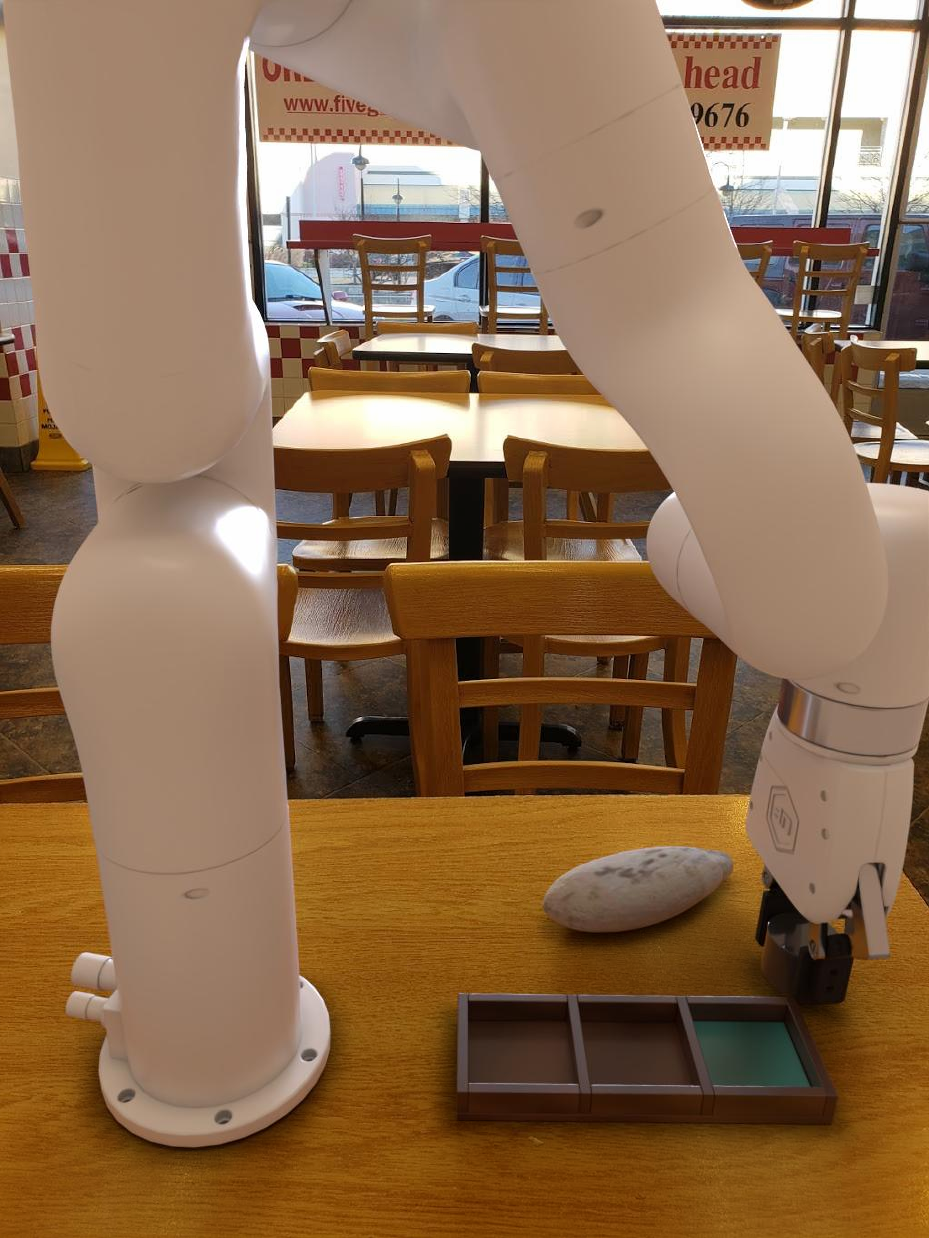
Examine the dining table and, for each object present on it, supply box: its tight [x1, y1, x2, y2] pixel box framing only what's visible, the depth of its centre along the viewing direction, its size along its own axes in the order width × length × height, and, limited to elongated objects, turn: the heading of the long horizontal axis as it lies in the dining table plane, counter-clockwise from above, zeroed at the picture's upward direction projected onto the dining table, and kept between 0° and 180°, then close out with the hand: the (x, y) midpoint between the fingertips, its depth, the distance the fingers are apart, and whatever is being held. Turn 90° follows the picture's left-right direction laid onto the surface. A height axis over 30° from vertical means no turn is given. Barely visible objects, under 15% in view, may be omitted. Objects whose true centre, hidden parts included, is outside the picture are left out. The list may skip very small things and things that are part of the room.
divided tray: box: [455, 992, 839, 1125], centre depth 52 cm, size 20×7×2 cm, turn 90°
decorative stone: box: [541, 845, 734, 933], centre depth 65 cm, size 6×16×3 cm, turn 117°
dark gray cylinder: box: [760, 912, 839, 996], centre depth 58 cm, size 4×4×3 cm
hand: (797, 968), depth 59 cm, fingers closed on dark gray cylinder, 4 cm apart
